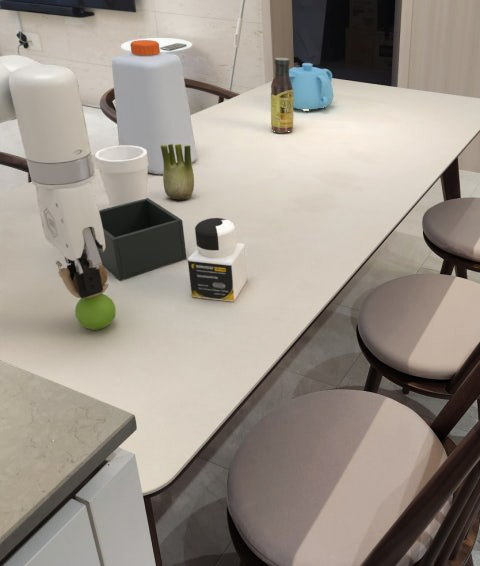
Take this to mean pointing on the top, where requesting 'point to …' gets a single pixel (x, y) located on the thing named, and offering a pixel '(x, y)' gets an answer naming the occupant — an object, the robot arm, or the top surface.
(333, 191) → the top surface
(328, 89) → the decorative pot
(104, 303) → the snail figurine
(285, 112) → the sauce bottle
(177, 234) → the bin
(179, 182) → the fennel bulb
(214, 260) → the medicine bottle
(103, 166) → the foam cup
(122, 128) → the plastic bottle
